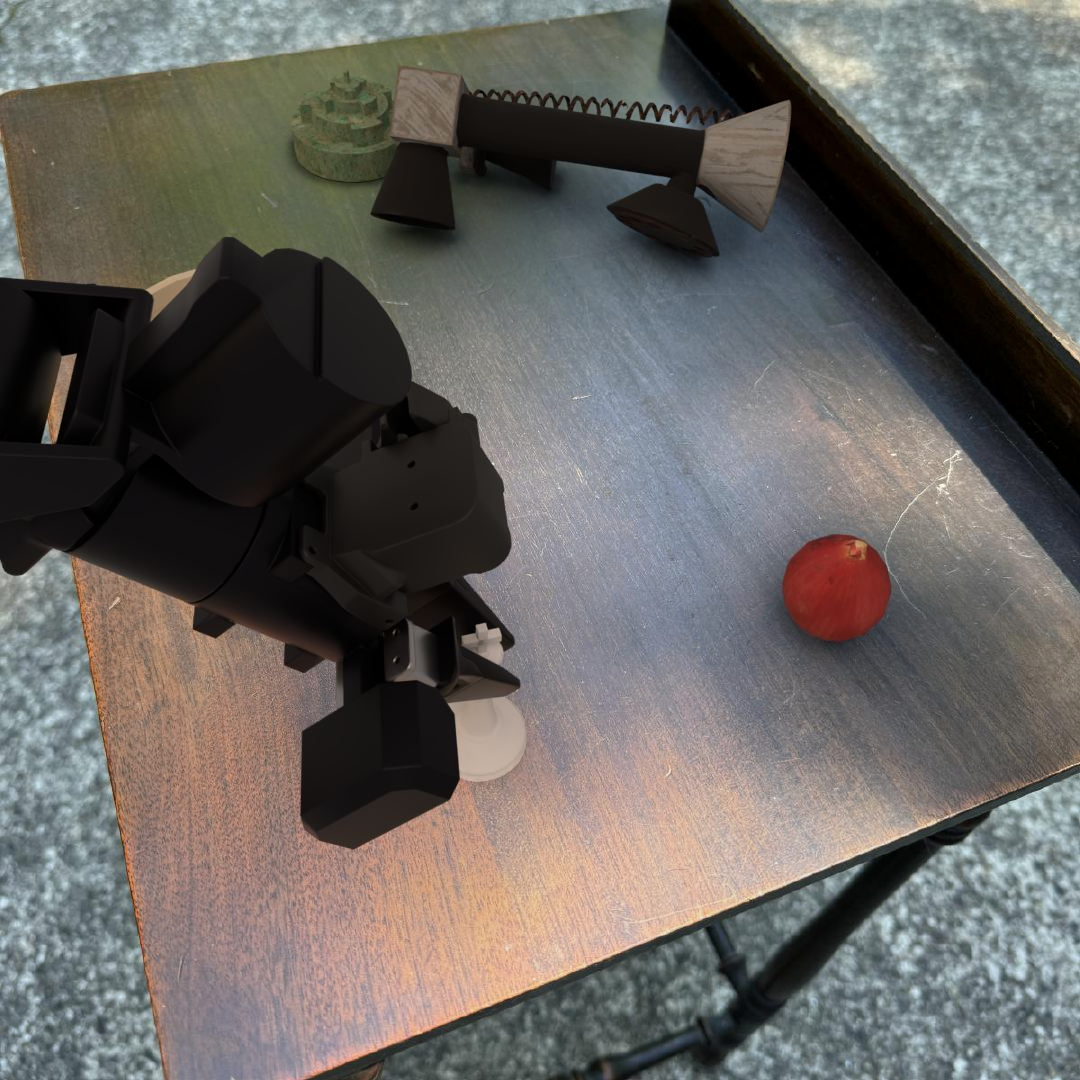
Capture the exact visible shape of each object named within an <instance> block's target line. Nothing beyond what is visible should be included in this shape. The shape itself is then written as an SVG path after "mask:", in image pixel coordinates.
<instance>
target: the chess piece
mask: <svg viewBox="0 0 1080 1080" xmlns="http://www.w3.org/2000/svg"><path fill="white" fill-rule="evenodd" d="M501 639H502V635H501V632H500V629H499V628H496V629H491V630H488V629H487V626H486V623H483V624H478V625H476V633H474V634H469V635H465V636H462V644H461V645H462V646H463V647H465V648H467V649H469V650H471V651H473V652H475V653H477V654H479V655H481V656H482V657H484V658H486V659H488V660H490V661H492V662H494V663H496V664H498V665H499V666H501V664H502V662H503V661H504V653H505V652H503V648H502V646H501V644H500V643H499V642H500V641H501ZM448 705H449V706H450V708H451V709H452V711H453V712H454V714H455V724H456V736H457V748H458V760H459V772H460V780H464V781H467V782H473V783H474V782H475V783H478V782H479V783H480V782H488V781H493V780H496V779H498V778H502V777H503V776H505V775H506V774H508V773H509V772H511V771H512V770H513V769H514V768H515V767H516V766H517V765H518V764H519V762H520V761H521V760H522V759H523V756H524V754H525V752H526V749H527V742H528V733H527V727H526V722H525V719H524V717H523V713H522V712H521V711H520V709H519V708H518V706H517V705H516V704H515V703H514V702H513V701H511V699H509V698H507V696H504V697H497V698H488V699H480V700H471V701H463V702H454V703H448Z"/></svg>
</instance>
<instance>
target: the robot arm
mask: <svg viewBox="0 0 1080 1080" xmlns="http://www.w3.org/2000/svg"><path fill="white" fill-rule="evenodd" d="M195 269H196V270H195V272H194V274H193V276H192V278H191V280H190V281H189V283H188V284H187V285H186V286H185V287H184V288H183V289H182V290H181V291H180V292H179V293H178V294H177V295H176V296H175V297H174V298H173V299H172V301H171V302H170V303H169V304H168V305H167V306H166V307H165V308H164V309H163V310H162V311H161V312H160V313H159V314H158V315H157V316H156V317H155V318H154V319H153V320H152V321H151V316H152V310H153V304H154V299H153V296H152V295H151V294H150V293H149V292H148V291H146V289H144V288H140V287H139V288H137V287H126V286H114V285H113V286H112V285H101V284H96V283H78V282H63V281H55V280H54V281H51V280H41V279H40V280H39V279H29V278H18V277H17V278H15V277H6V276H5V277H4V276H3V277H2V276H0V563H1V567H2V570H3V571H4V572H5V573H6V574H7V575H9V576H12V577H20V576H24V575H25V574H27V573H28V572H29V571H30V570H31V569H32V568H33V567H35V566H36V565H37V564H38V562H40V561H41V560H42V559H43V558H45V556H46V555H48V554H49V553H50V552H51V551H52V550H56V551H59V552H62V553H64V554H66V555H69V556H71V557H74V558H77V559H79V560H82V561H84V562H86V563H89V564H92V565H94V566H96V567H98V568H100V569H103V570H106V571H109V572H111V573H113V574H115V575H118V576H121V577H123V578H126V579H128V580H130V581H132V582H135V583H137V584H139V585H142V586H144V587H148V588H150V589H153V590H154V591H157V592H160V593H161V594H165V595H167V596H170V597H171V598H174V599H177V600H179V601H182V602H184V603H185V604H188V605H190V606H192V607H194V608H193V618H192V619H193V620H192V628H191V629H192V630H193V631H194V632H197V633H200V634H203V635H205V636H207V637H210V638H213V639H215V640H216V639H217V638H219V637H220V636H222V635H223V634H224V633H226V632H227V631H229V630H230V629H231V628H232V627H234V626H236V625H240V626H242V627H243V628H247V629H249V630H252V631H253V632H257V633H259V634H262V635H264V636H266V637H269V638H272V639H274V640H276V641H278V642H281V643H283V646H284V647H283V648H284V649H283V666H285V667H286V668H289V669H291V670H294V671H296V672H300V673H302V674H306V673H307V672H309V671H310V670H312V669H313V668H315V667H316V666H318V665H320V664H321V663H322V662H324V661H325V660H327V661H328V662H329V661H330V662H333V663H335V709H336V710H334V711H332V712H330V713H328V714H327V715H326V716H324V717H322V718H320V719H319V720H318V721H316V722H314V723H313V724H310V726H308V727H306V728H305V729H303V730H301V750H300V751H301V757H300V758H301V760H300V804H299V805H300V807H299V809H300V810H299V816H300V820H301V823H302V827H303V830H304V831H305V832H306V833H308V834H309V835H311V836H312V837H313V838H315V839H316V841H319V842H322V843H326V844H330V845H333V846H336V847H337V846H338V847H341V848H345V849H349V850H353V851H355V850H357V849H358V848H360V847H362V846H364V845H366V844H368V843H370V842H372V841H373V840H375V839H377V838H380V837H382V836H383V835H385V834H388V833H389V832H391V831H393V830H395V829H397V828H399V827H401V826H403V825H405V824H406V823H408V822H410V821H413V820H414V819H416V818H418V817H420V816H422V815H424V814H426V813H428V812H430V811H431V810H433V809H435V808H437V807H440V806H441V805H443V804H445V803H448V802H449V801H450V800H451V799H452V797H453V794H454V792H455V791H456V788H457V786H458V784H459V782H460V780H461V779H460V772H459V760H458V748H457V736H456V724H455V714H454V712H453V711H452V709H451V708H450V706H449V705H448V703H454V702H463V701H471V700H480V699H488V698H497V697H508V696H509V695H511V694H512V693H514V692H516V691H518V690H520V689H521V687H522V685H521V680H520V678H519V677H518V676H516V675H515V674H513V673H512V672H510V671H509V670H507V669H506V668H505V667H503V666H501V665H500V666H499V665H498V664H496V663H494V662H492V661H490V660H488V659H486V658H484V657H482V656H481V655H479V654H477V653H475V652H473V651H471V650H469V649H467V648H465V647H463V646H462V645H461V644H462V636H465V635H469V634H474V633H476V625H478V624H483V623H486V626H487V629H488V630H491V629H496V628H499V629H500V632H501V635H502V639H501V641H500V642H499V643H500V644H501V646H502V648H503V652H504V653H505V652H507V651H508V650H510V649H512V648H513V647H514V646H515V645H516V640H515V636H514V635H513V634H512V632H510V630H509V629H508V628H507V627H506V625H505V624H504V623H503V622H502V620H501V619H499V617H498V616H497V615H496V614H495V612H494V611H493V610H492V609H491V607H489V605H488V604H487V603H486V602H485V601H484V599H483V598H482V597H481V596H480V595H479V594H478V592H477V591H476V590H475V589H474V588H473V587H472V585H471V584H470V583H469V582H468V580H467V579H466V578H465V577H466V576H468V575H471V574H475V575H482V574H486V573H488V572H491V571H493V570H495V569H496V568H498V567H499V566H501V565H502V564H503V563H504V562H505V561H506V559H507V558H508V557H509V555H510V553H511V550H512V545H513V543H512V534H511V530H510V528H509V523H508V517H507V509H506V502H505V494H504V493H505V491H506V489H505V483H504V479H503V478H502V477H501V475H500V473H499V472H498V470H497V469H496V468H495V466H494V464H493V463H492V462H491V460H490V458H489V457H488V455H487V454H486V452H485V451H484V449H483V448H482V446H481V439H480V430H479V424H478V423H479V422H478V418H477V417H476V416H475V414H473V413H471V412H462V411H461V409H460V408H459V407H458V406H453V405H452V403H451V402H450V401H449V400H448V399H447V398H445V397H444V396H442V395H440V394H438V393H436V392H434V391H433V390H430V389H428V388H426V387H425V386H423V385H421V384H419V383H417V382H415V381H413V371H412V370H413V369H412V364H411V361H410V357H409V353H408V349H407V347H406V345H405V343H404V341H403V338H402V335H401V334H400V331H399V330H398V328H397V326H396V325H395V323H394V321H393V320H392V318H391V317H390V315H389V314H388V312H387V311H386V310H385V308H384V306H383V305H382V304H381V303H380V302H379V300H378V299H377V297H375V295H373V294H372V292H371V291H370V290H369V289H368V288H367V287H366V286H365V285H364V284H363V283H362V282H361V281H360V280H359V279H358V278H357V277H355V275H353V274H352V273H351V272H350V271H349V270H347V269H346V268H345V267H344V266H343V265H341V264H339V263H338V262H337V261H335V260H334V259H332V258H330V257H329V256H323V257H322V258H319V257H317V256H315V255H314V254H311V253H309V252H307V251H304V250H301V249H295V248H290V247H284V248H274V249H273V250H271V251H269V252H267V253H266V254H264V255H263V256H262V255H261V254H260V253H258V252H256V251H255V250H253V249H252V248H250V247H249V246H248V245H246V244H245V243H243V242H242V241H240V240H239V239H237V238H236V237H235V236H224V237H222V238H221V239H220V240H219V241H218V242H217V243H216V244H215V245H214V246H213V247H212V248H211V249H210V250H209V251H208V252H207V253H206V254H205V255H204V256H203V258H202V259H201V260H200V261H199V263H198V265H197V266H196V268H195ZM71 355H72V356H73V355H75V359H74V363H73V368H72V371H71V372H72V373H71V377H70V381H69V385H68V390H67V394H66V398H65V402H64V407H63V411H62V415H61V420H60V423H59V428H58V432H57V437H56V440H55V441H54V442H53V443H44V442H43V438H44V434H45V429H46V425H47V422H48V417H49V413H50V410H51V404H52V401H53V397H54V393H55V388H56V384H57V381H58V376H59V371H60V366H61V363H62V359H63V357H67V356H71ZM42 442H43V443H42Z"/></svg>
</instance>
